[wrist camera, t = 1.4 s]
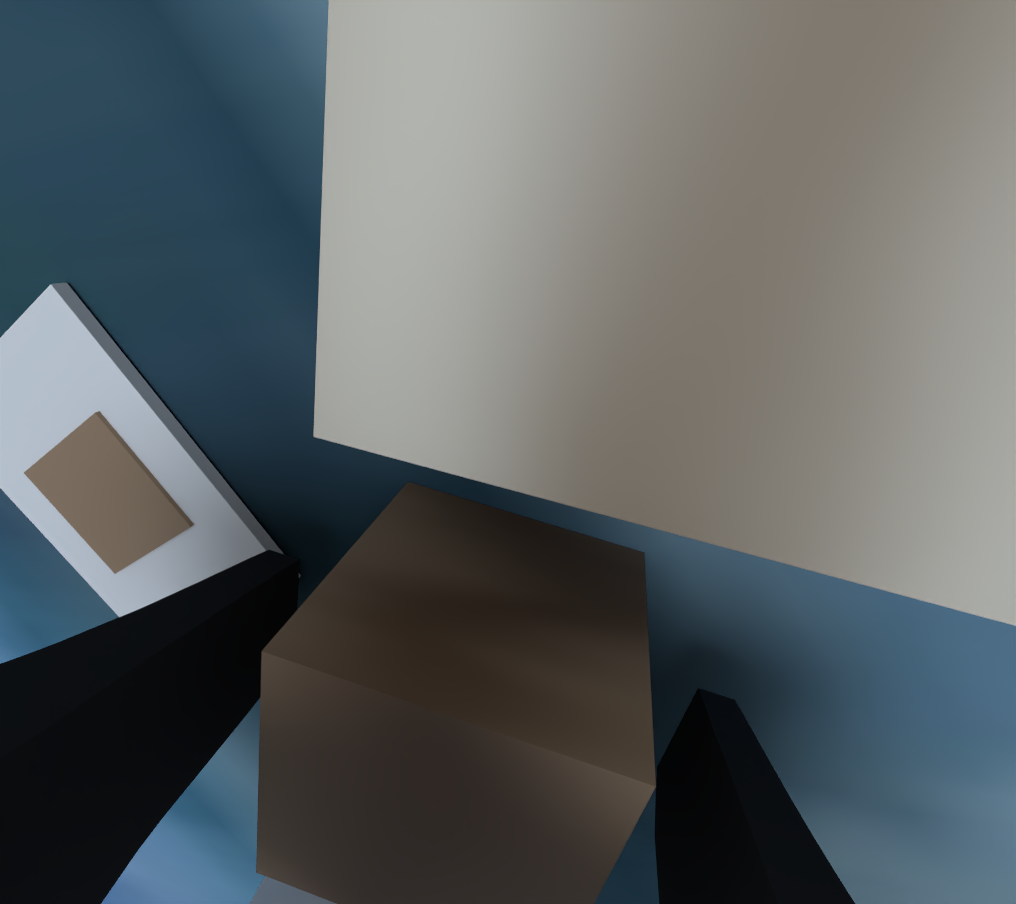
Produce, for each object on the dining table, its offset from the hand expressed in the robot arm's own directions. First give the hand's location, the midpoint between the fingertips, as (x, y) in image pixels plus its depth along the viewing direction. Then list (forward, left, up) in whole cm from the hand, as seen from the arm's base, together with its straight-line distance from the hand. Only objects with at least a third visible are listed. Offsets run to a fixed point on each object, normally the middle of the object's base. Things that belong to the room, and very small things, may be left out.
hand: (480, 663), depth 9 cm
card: (+6, +6, -1) cm, 9 cm away
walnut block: (0, 0, -2) cm, 2 cm away
